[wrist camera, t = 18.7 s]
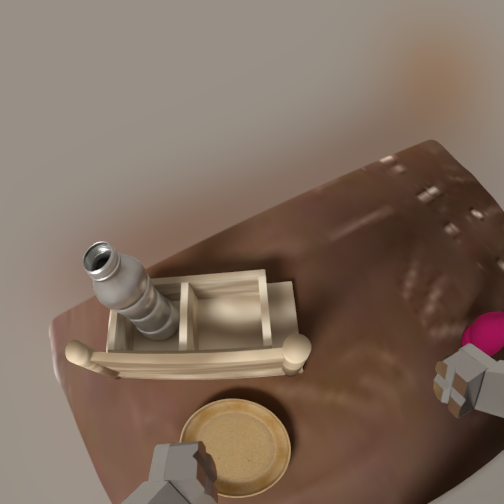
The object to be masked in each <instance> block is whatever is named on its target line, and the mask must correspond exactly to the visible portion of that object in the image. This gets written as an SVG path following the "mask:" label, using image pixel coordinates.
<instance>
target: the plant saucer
mask: <svg viewBox="0 0 504 504" xmlns="http://www.w3.org/2000/svg"><path fill="white" fill-rule="evenodd" d="M193 441H202V442H203V443H204V445H205V446H206V453H208V454H210V455H211V456H212V458H213V460H214V462H215V465H216V470H217V480H216V481H215V482H214V485H215V486H216V487H217V489H218V495H221V496H225V497H232V498H242V497H249V496H253V495H256V494H259V493H262V492H264V491H266V490H267V489H269V488H270V487H272V486H273V485H274V484H275V483H277V482H278V480H279V479H280V478H281V477H282V476H283V474H284V473H285V471H286V469H287V467H288V464H289V461H290V455H291V446H290V439H289V436H288V433H287V431H286V429H285V427H284V425H283V424H282V422H281V421H280V420H279V419H278V417H277V416H276V415H275V414H273V413H272V412H271V411H270V410H268V409H267V408H265V407H263V406H262V405H260V404H257V403H255V402H252V401H248V400H243V399H223V400H218V401H215V402H211V403H209V404H207V405H205V406H203V407H202V408H200V409H199V410H197V411H196V412H195V413H194V414H193V415H192V416H191V417H190V418H189V420H188V421H187V423H186V424H185V426H184V428H183V430H182V433H181V437H180V443H183V442H193Z"/></svg>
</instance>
